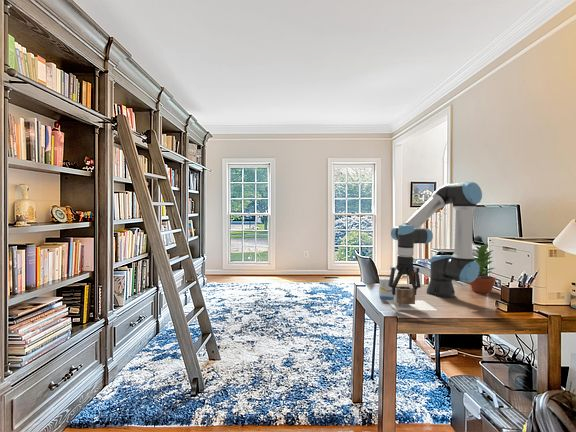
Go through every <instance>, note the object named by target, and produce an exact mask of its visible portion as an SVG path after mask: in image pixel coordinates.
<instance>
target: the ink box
mask: <svg viewBox="0 0 576 432" xmlns="http://www.w3.org/2000/svg"><path fill="white" fill-rule="evenodd" d="M395 278H396V277H394V280H393V283H394V281H395ZM389 279H390V276H380V277H379V290H378V292H379V293H378V294H379V295H378V297H379V298H380V299H381V300H393V294H392V287H389V286H388V284H389Z"/></svg>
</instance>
